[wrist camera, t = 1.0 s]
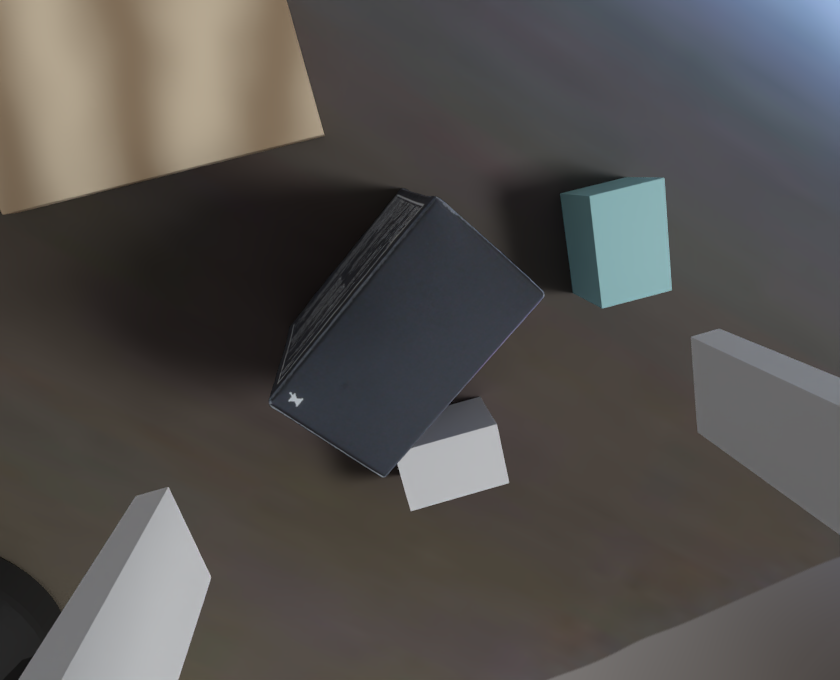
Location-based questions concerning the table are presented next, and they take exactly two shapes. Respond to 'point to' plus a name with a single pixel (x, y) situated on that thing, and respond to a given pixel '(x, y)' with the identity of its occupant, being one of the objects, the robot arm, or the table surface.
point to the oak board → (142, 91)
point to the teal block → (617, 240)
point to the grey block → (454, 456)
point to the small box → (399, 331)
